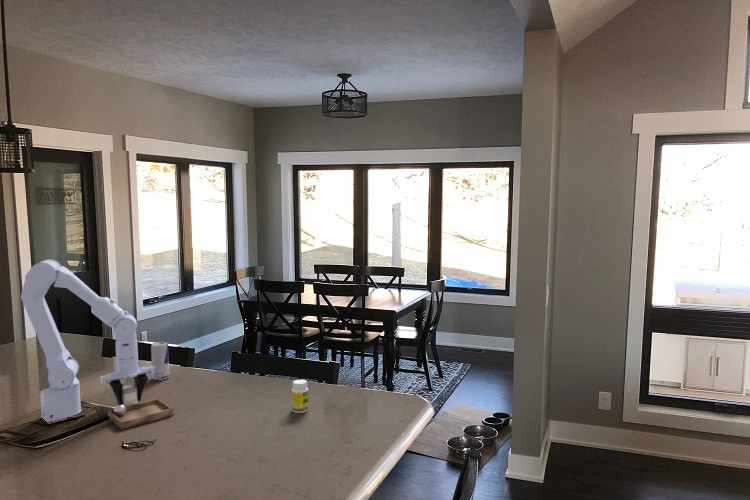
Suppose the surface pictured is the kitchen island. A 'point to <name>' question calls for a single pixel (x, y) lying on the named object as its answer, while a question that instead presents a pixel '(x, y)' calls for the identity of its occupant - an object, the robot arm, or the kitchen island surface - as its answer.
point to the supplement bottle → (300, 396)
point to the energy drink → (160, 360)
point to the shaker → (129, 395)
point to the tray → (141, 413)
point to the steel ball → (120, 410)
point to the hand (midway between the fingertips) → (129, 402)
